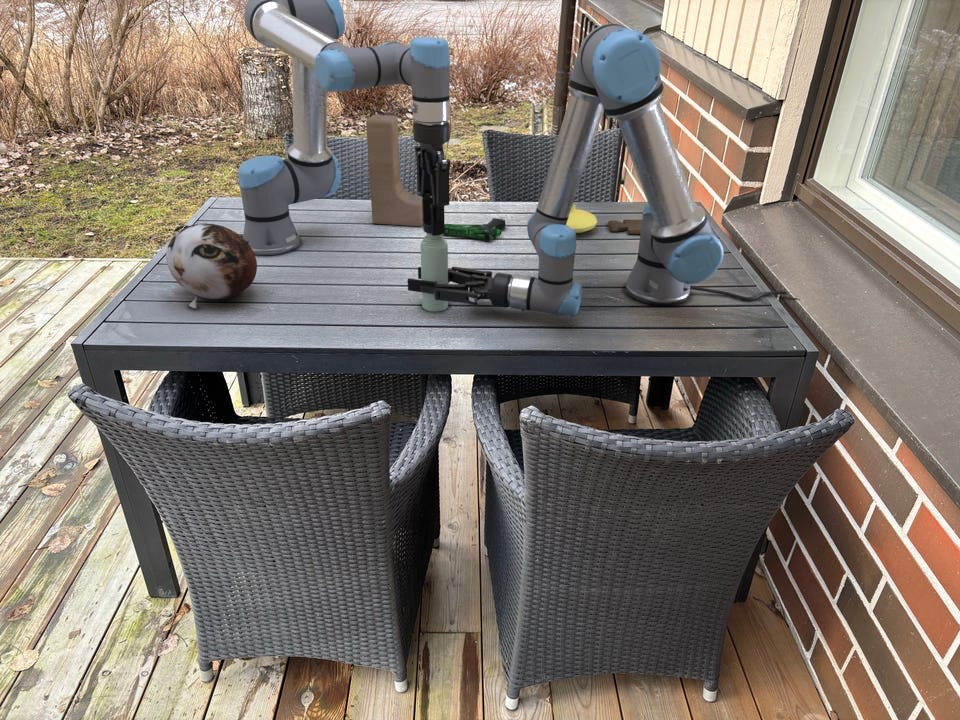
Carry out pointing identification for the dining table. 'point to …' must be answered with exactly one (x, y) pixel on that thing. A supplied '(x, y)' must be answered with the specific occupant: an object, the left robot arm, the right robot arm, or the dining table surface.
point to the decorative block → (389, 176)
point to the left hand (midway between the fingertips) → (433, 230)
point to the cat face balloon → (211, 261)
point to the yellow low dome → (581, 220)
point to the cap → (427, 226)
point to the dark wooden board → (626, 226)
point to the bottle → (434, 268)
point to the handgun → (477, 230)
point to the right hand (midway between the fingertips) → (413, 278)
